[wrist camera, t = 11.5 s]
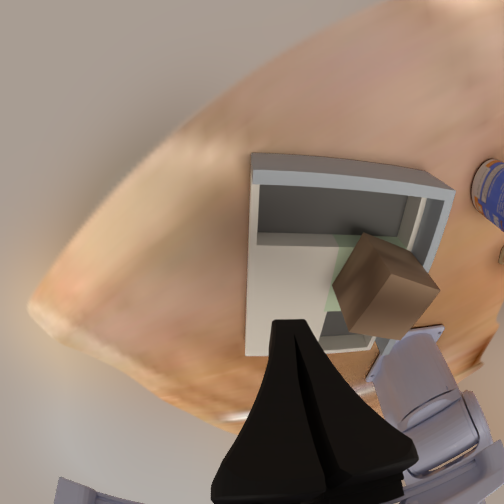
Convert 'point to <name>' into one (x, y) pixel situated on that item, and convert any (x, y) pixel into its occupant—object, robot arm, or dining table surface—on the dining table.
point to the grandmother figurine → (501, 256)
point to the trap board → (329, 237)
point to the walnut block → (382, 289)
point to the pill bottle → (490, 191)
